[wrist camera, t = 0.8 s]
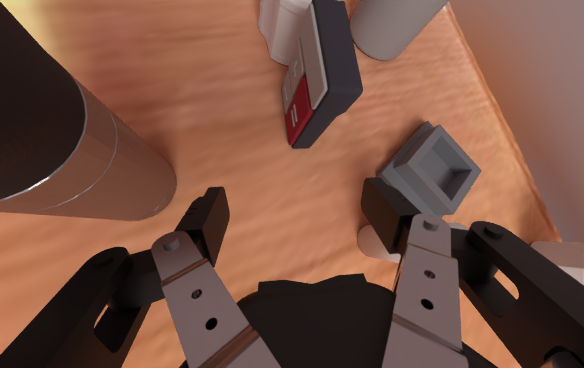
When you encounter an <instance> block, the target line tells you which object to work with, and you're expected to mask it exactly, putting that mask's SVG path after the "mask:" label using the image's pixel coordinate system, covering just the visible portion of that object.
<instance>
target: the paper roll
mask: <svg viewBox="0 0 584 368" xmlns="http://www.w3.org/2000/svg"><path fill="white" fill-rule="evenodd" d="M448 225H449V226H450V228H456V229H464V230H469V229H468V228H467V227H465V226H464V225H462V224H459V223H448ZM357 242H358V246H359V249H360V250H361V252H362V253H363V254H365V255H366V256H369V257H373V258H378V259H382V260H387V261H392V262H396V263H399V260H400V257H401V256H400V254H389V253H388V251H387V250H386V248H385V247H384V245H383V243H382V242H381V240H380V239H379V237H378V235H377V234H376V232H375V230H374V229H373V227H372V226H371V225H366V226H364V227H363V228H362V229H361V230H360V231H359V233H358V237H357Z"/></svg>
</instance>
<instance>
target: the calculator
mask: <svg viewBox="0 0 584 368" xmlns="http://www.w3.org/2000/svg"><path fill="white" fill-rule="evenodd" d="M362 92H363V87H362V82H361V77H360V72H359V68H358V63H357V58H356V53H355V49H354V44H353V39H352V34H351V30H350V25H349V20H348V15H347V11H346V6H345V2H344V1H340V0H312V2H311V3H310V4H309V6H308V9H307V12H306V16H305V19H304V22H303V25H302V29H301V32H300V39H297V40H296V43H295V47H294V50H293V53H292V57H291V60H290V63H289V70H287V73H286V77H285V80H284V83H283V87H282V95H283V103H284V111H285V114H287V116H286V126H287V133H288V141H289V145H292V148H293V149H298V148H310V147H311V146H312V144H313V143H314V142H315V141H316V140H317V139H318V137H319V136H320V135H321V134H322V133H323V132H324V130H325V129H326V128H327V127H328V126H329V125H330V123H331V122H332V121H333V120H334V119H335V118H336V117H337V116H339V115H341V114H342V113H344V112H346V111H347V109H348V108H349V107H350V106H351V105H352V104H353V103H354V102H355V101H356V100H357V98H358V97H359V96H360V95H361V94H362Z"/></svg>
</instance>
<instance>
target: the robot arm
mask: <svg viewBox="0 0 584 368" xmlns="http://www.w3.org/2000/svg"><path fill="white" fill-rule="evenodd" d="M175 190H176V176H175V173H174V170H173V169H172V167H171V165H170V164H169V163H168V162H167V161H166V160H165V159H164V158H163V157H161V156H160V155H159V154H158V153H157V152H156V151H155V150H154V149H153V148H152V147H151V146H150V145H148V144H147V143H146V142H145V141H144V140H143V139H142V138H141V137H140V136H139V135H137V134H136V133H135V132H134V131H133V130H132V129H131V128H130V127H129V126H127V125H126V124H125V123H124V122H123V121H122V120H121V119H120V118H119V117H118V116H116V115H115V114H114V113H113V112H112V111H111V110H110V109H109V108H108V107H106V106H105V105H104V104H103V103H102V102H101V101H100V100H99V99H97V98H96V97H95V96H94V95H93V94H92V93H91V92H90V91H88V90H87V89H86V88H85V87H84V86H83V85H82V84H81V83H80V82H79V81H77V80H76V79H75V78H74V77H73V76H72V75H71V74H70V73H68V71H67V70H66V69H64V68H63V67H62V66H61V65H60V64H59V63H58V62H57V61H56V60H55V59H54V58H53V57H51V56H50V55H49V54H48V53H47V52H46V51H45V50H44V49H43V48H42V47H41V46H40V45H39V44H38V43H37V41H36V40H35V39H34V38H33V37H32V36H31V35H30V34H29V33H28V32H27V30H26V29H25V28H24V27H23V26H22V25H21V24H20V23H19V22H18V21H17V20H16V18H15V17H14V16H13V15H12V14H11V13H10V12H9V11H8V10H7V9H6V7H5V6H4V5H3V4H2V3H1V2H0V212H6V213H23V214H37V215H52V216H66V217H81V218H95V219H109V220H124V221H138V220H142V219H147V218H149V217H152V216H154V215H156V214H157V213H159V212H160V211H162V210H163V209H164V208H165V207H166V206H167V205H168V204H169V202H170V201H171V200H172V198H173V196H174V193H175ZM361 208H362V211H363V213H364V214H365V216H366V217H367V219H368V221H369V222H370V224H371V226H372V227H373V229H374V230H375V232H376V234H377V235H378V237H379V239H380V240H381V242H382V243H383V245H384V247H385V248H386V250H387V251H388V253H389V254H400V256H401V257H400V260H399V264H398V268H397V272H396V276H395V280H394V284H393V288H392V291H391V290H389V289H387V288H385V287H382V286H380V285H377V284H374V283H370V282H367V281H366V279H365V276H364V274H363V273H362V274H350V275H338V276H335V277H332V278H329V279H326V280H323V281H320V282H318V283H314V284H308V283H302V282H295V281H289V280H277V281H265V282H259V284H258V291H256V292H253V293H251V294H249V295H247V296H246V297H244V298H242V299H241V300H239V301H238V302H237V303H236V302H235V301H234V299H233V298H232V296H231V295H230V293H229V292H228V290H227V289H226V287H225V286H224V284H223V282H222V281H221V279H220V278H219V276H218V275H217V273H216V272H215V270H214V269H213V268H214V267H215V264H216V260H217V257H218V254H219V251H220V248H221V244H222V241H223V238H224V235H225V232H226V228H227V225H228V222H229V217H230V213H229V207H228V202H227V198H226V193H225V189H224V187H209V188H208V189H207V191H206V193H205V195H204V196H203V197H199V198H197V199H196V200H195V201H193V202H192V204H191V205H190V207H189V208H188V210H187V211H186V213H185V215H184V216H183V218H182V219H181V221H180V222H179V224H178V226H177V227H176V229H175V230H174V232H170V233H168V234H165V235H163V236H162V237H160V238H159V239H157V240H156V241H155V242H154V244H153V245H152V247H151V249H149V250H145V251H142V252H138V253H135V254H131V255H130V254H129V252H128V251H127V249H126V248H124V247H113V248H109V249H107V250H104V251H102V252H100V253H98V254H96V255H94V256H93V257H91V258H90V259H89V260H88V261H87V262H86V263H85V264H84V265H83V266H82V267H81V268H80V269H79V270H78V271H77V272H76V273H75V274H74V275H73V277H72V278H71V279H70V280H69V281H68V282H67V283H66V284H65V285H64V286H63V287H62V288H61V290H60V291H59V292H58V293H57V294H56V295H55V296H54V297H53V298H52V299H51V300H50V302H49V303H48V304H47V305H46V306H45V307H44V308H43V309H42V310H41V311H40V312H39V313H38V315H37V316H36V317H35V318H34V319H33V320H32V321H31V322H30V323H29V324H28V325H27V327H26V328H25V329H24V330H23V331H22V332H21V333H20V334H19V335H18V336H17V337H16V338H15V340H14V341H13V342H12V343H11V344H10V345H9V346H8V347H7V348H6V349H5V350H4V352H3V353H2V354H1V355H0V368H121V367H122V365H123V363H124V360H125V358H126V356H127V354H128V352H129V350H130V348H131V346H132V344H133V341H134V339H135V337H136V335H137V333H138V331H139V329H140V327H141V325H142V322H143V320H144V318H145V316H146V314H147V312H148V310H149V308H150V306H151V303H153V302H156V301H158V300H161V299H164V298H166V301H167V304H168V307H169V310H170V313H171V316H172V319H173V322H174V325H175V328H176V331H177V333H178V336H179V339H180V342H181V345H182V348H183V351H184V354H185V357H186V360H185V361H184V362H183V363H182V365H181V366H180V367H179V368H498V367H497V366H495V365H494V364H492V363H491V362H490V361H488V360H487V359H486V358H484V357H483V356H481V355H480V354H479V353H477V352H476V351H475V350H473V349H472V348H470V347H469V346H468V345H466V344H465V343H464V342H462V341H461V320H460V299H459V287H460V289H461V290H462V291H463V292H464V294H465V295H466V296H467V298H468V299H469V300H470V301H471V303H472V304H473V305H474V307H475V308H476V309H477V310H478V312H479V313H480V314H481V316H482V317H483V318H484V319H485V321H486V322H487V323H488V325H489V326H490V327H491V328H492V330H493V331H494V332H495V333H496V335H497V336H498V337H499V339H500V340H501V341H502V342H503V344H504V345H505V346H506V348H507V349H508V350H509V351H510V353H511V354H512V355H513V357H514V358H515V359H516V360H517V362H518V363H519V364H520V366H521V367H522V368H584V285H583V284H581V283H580V282H579V281H577V280H576V279H574V278H573V277H572V276H570V275H569V274H568V273H566V272H565V271H564V270H562V269H561V268H559V267H558V266H557V265H555V264H554V263H553V262H551V261H550V260H549V259H547V258H546V257H544V256H543V255H542V254H540V253H539V252H538V251H536V250H535V249H534V248H532V247H531V246H529V245H528V244H527V243H525V242H524V241H523V240H521V239H520V238H519V237H517V236H516V235H514V234H513V233H512V232H510V231H509V230H507V229H505V228H504V227H502V226H499V225H497V224H494V223H490V222H485V221H476V222H473V223H472V224H471V226H470V228H469V230H464V229H456V228H450V226H449V225H448V223H447V222H445V221H444V220H442V219H441V218H439V217H436V216H433V215H429V214H423V213H422V212H420V211H419V210H418V209H417V208H416V207H415V206H414V205H413V204H412V203H411V202H410V201H409V200H408V199H407V198H406V197H405V196H403V194H402V193H401V192H400V191H399V190H398V189H396V188H394V187H392V186H390V185H387V184H386V183H385V182H384V181H383V180H382V179H381V178H380V177H375V178H366V179H365V180H364V185H363V192H362V198H361ZM498 269H499V270H500V271H501V272H502V273H504V274H505V275H506V276H507V277H508V278H509V279H510V280H511V281H512V282H513V283H514V284H515V286H516V287H517V289H518V292H519V297H518V299H517V300H516V299H515V298H514V297H513V296H512V295H511V294H510V293H509V292H508V291H507V290H506V289H505V288H504V286H503V285H502V284H501V283H500V282H499V281H498V280H497V279H496V278H495V277H494V275H495V274H496V272H497V271H498ZM106 304H107V305H108V308H107V309H106V311H105V313H104V314H103V316H102V317H101V319H100V320H99V322H98V323H97V325H96V326H95V328H94V325H95V322H96V320H97V318H98V316H99V315H100V313H101V312H102V310H103V309H104V307H105V306H106Z"/></svg>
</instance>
